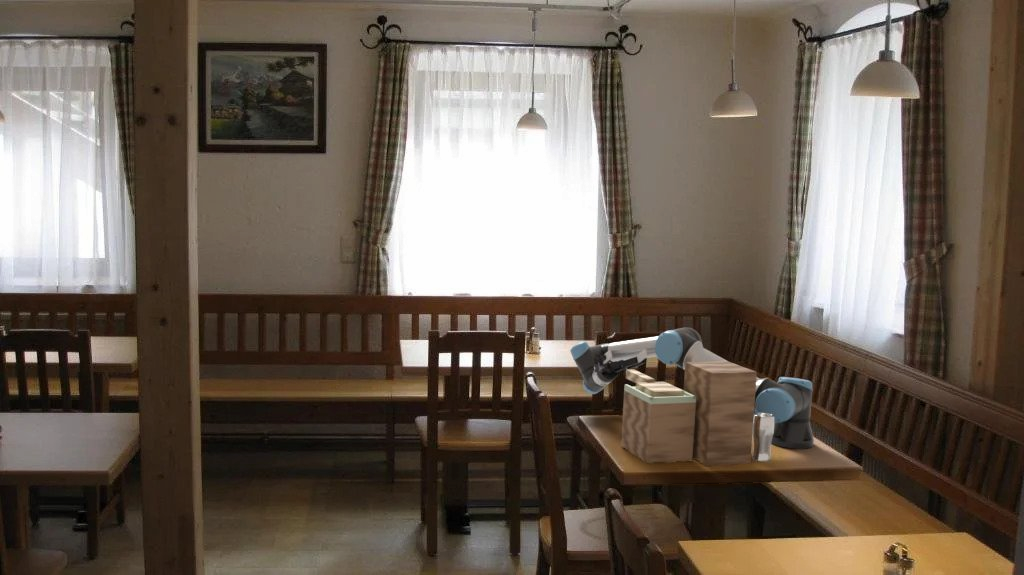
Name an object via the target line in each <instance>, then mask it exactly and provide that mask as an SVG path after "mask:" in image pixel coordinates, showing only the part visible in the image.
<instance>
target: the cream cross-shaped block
mask: <svg viewBox="0 0 1024 575" xmlns="http://www.w3.org/2000/svg"><path fill="white" fill-rule="evenodd" d="M625 379H626V380H628V381H631V382H632V383H635V386H636V389H638V390H640V391H642V392H644V393H646V394H648V395H650V396H652V397H670V396H684V389H682V388H679V387H676V386H675V385H673V384H671V383H668V382H666V381H655V378H653V377H651V376H649V375H647V374H645V373H642V372H640V371H638V370H636V369H631V370H626V369H625Z"/></svg>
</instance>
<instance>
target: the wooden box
mask: <svg viewBox="0 0 1024 575" xmlns="http://www.w3.org/2000/svg"><path fill="white" fill-rule="evenodd" d="M623 390H624V389H623ZM695 408H696V402H694V403H667V404H650V403H648V402H646V401H644V400H642V399H640V398H638V397H636V396H634V395H632V394H630V393H628V392H627V391H625V390H624V391H623V408H622V426H621V440H620V441H621V444H620V447H621V448H623V449H624V448H625V449H624V450H626V451H627V450H628V452H629V453H630V452H631V453H630V454H632V453H633V454H634V455H633V454H632V455H633V456H635V455H636V456H637V457H636V456H635V457H636V458H638V457H639V459H640V458H641V459H642V460H641V459H640V460H641V461H643V460H644V461H645V462H644V461H643V462H644V463H646V462H647V463H646V464H655V463H654V462H665V463H674V462H673V461H682V462H691V461H690V460H692V461H693V458H692V455H693V439H694V424H695ZM671 461H672V462H671Z"/></svg>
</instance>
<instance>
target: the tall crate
mask: <svg viewBox="0 0 1024 575" xmlns="http://www.w3.org/2000/svg"><path fill="white" fill-rule="evenodd" d="M757 372H758V371H755V370H753V369H750V368H747V367H744V366H741V365H739V364H736V363H733V362H731V361H728V360H727V361H718V362H685V370H684V377H683V378H684V380H683V381H684V382H683V390H684V391H686V392H688V393H690V394H692V395H694V396H696V408H695V424H694V439H693V455H692V457H693V458H692V459H694V458H695V459H694V460H696V461H697V460H698V461H697V462H699V461H700V462H699V463H701V464H702V463H703V465H705V466H707V467H710V466H726V465H727V466H728V465H729V466H730V465H742V464H744V465H745V464H751V459H752V447H753V446H752V445H753V420H754V406H755V392H756V378H757V377H758V376H757V375H758V373H757Z"/></svg>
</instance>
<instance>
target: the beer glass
mask: <svg viewBox="0 0 1024 575" xmlns="http://www.w3.org/2000/svg"><path fill="white" fill-rule="evenodd" d="M774 427H775V416H774V415H773V414H770V413H762V412H759V413H754V420H753V435H752V444H753V451H752V453H751V459H752V460H753V461H755V462H759V463H767V462H768V463H770V462H771V460H772V459H771V457H772V456H771V447H772V439H773V435H774Z"/></svg>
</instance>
